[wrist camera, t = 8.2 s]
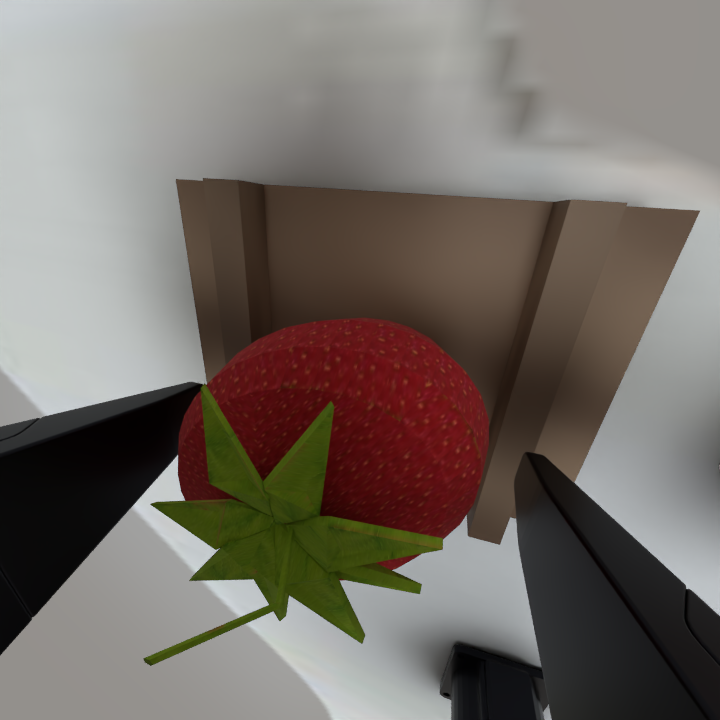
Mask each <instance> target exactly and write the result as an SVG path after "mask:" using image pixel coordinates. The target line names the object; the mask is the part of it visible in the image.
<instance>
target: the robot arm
mask: <svg viewBox="0 0 720 720" xmlns="http://www.w3.org/2000/svg"><path fill="white" fill-rule="evenodd" d="M202 386H203V384H200V383H195V382H187V383H183V384H179V385H175V386H171V387H166V388H162V389H158V390H154V391H150V392H145V393H141V394H137V395H133V396H129V397H124V398H120V399H116V400H112V401H108V402H103V403H99V404H95V405H91V406H87V407H82V408H78V409H74V410H70V411H66V412H61V413H57V414H53V415H49V416H45V417H42V418H36V419H32V420H28V421H23V422H19V423H15V424H11V425H6V426H2V427H0V655H1V654H2V653H3V651H5V649H6V648H7V647H8V646H9V645H10V644H11V643H12V642H13V640H14V639H15V638H16V637H17V636H18V635H19V633H21V631H22V630H23V629H24V628H25V627H26V626H27V625H28V624H29V622H30V621H31V620H32V617H34V616H35V615H36V614H37V613H38V612H39V611H40V609H41V608H42V607H43V606H44V605H45V604H46V603H47V602H48V601H49V599H50V598H51V597H52V596H53V595H54V594H55V593H56V591H57V590H58V589H59V588H60V587H61V586H62V585H63V584H64V582H65V581H66V580H67V579H68V578H69V577H70V576H71V575H72V574H73V572H74V571H75V570H76V569H77V568H78V567H79V565H80V564H81V563H82V562H83V561H84V560H85V559H86V558H87V557H88V556H89V554H90V553H91V552H92V551H93V550H94V549H95V548H96V547H97V545H98V544H99V543H100V542H101V541H102V540H103V539H104V538H105V536H106V535H107V534H108V533H109V532H110V531H111V530H112V529H113V527H114V526H115V525H116V524H117V523H118V521H120V519H121V518H122V517H123V516H124V515H125V514H126V513H127V512H128V510H129V509H130V508H131V507H132V506H133V505H134V504H135V503H136V502H137V500H138V499H139V498H140V497H141V496H142V495H143V494H144V493H145V491H146V490H147V489H148V488H149V487H150V486H151V485H152V484H153V482H154V481H155V480H156V479H157V478H158V477H159V476H160V475H161V473H162V472H163V471H164V470H165V469H166V468H167V467H168V466H169V464H170V463H171V462H172V461H173V460H174V459H175V457H176V456H177V455H178V447H179V432H180V429H181V425H182V422H183V418H184V415H185V413H186V411H187V410H188V408H189V406H190V405H191V403H192V401H193V399H194V398H195V396H196V395H197V394H198V393H199V392H200V391H201V387H202ZM514 494H515V507H516V521H517V535H518V545H519V552H520V557H521V563H522V568H523V573H524V578H525V583H526V589H527V594H528V599H529V604H530V609H531V615H532V620H533V625H534V630H535V635H536V640H537V646H538V651H539V656H540V661H541V666H542V672H541V671H538V670H535V669H532V668H529V667H526V666H523V665H520V664H517V663H514V662H511V661H508V660H505V659H502V658H499V657H496V656H493V655H490V654H487V653H484V652H481V651H478V650H475V649H472V648H469V647H466V646H463V645H455V646H454V647H453V650H452V653H451V655H450V658H449V661H448V664H447V667H446V670H445V672H444V675H443V678H442V681H441V684H440V694H441V695H442V696H443V697H445V698H447V699H450V700H451V720H544V716H543V711H544V710H545V708H546V707H547V706H548V704H549V708H550V713H551V718H552V720H720V616H719V615H718V614H717V613H716V612H715V611H713V610H712V609H711V608H710V607H709V606H708V605H707V604H706V603H705V602H704V601H703V600H701V599H700V598H699V597H698V596H697V595H696V594H695V593H694V592H693V591H692V590H690V589H686V585H685V584H684V583H683V582H682V581H681V580H680V579H678V578H677V577H676V576H675V575H674V574H673V573H672V572H671V571H670V570H669V569H668V568H666V567H665V566H664V565H663V564H662V563H661V562H660V561H659V560H658V559H657V558H656V557H654V556H653V555H652V554H651V553H650V552H649V551H648V550H647V549H646V548H645V547H644V546H642V545H641V544H640V543H639V542H638V541H637V540H636V539H635V538H634V537H633V536H632V535H630V534H629V533H628V532H627V531H626V530H625V529H624V528H623V527H622V526H621V525H620V524H618V523H617V522H616V521H615V520H614V519H613V518H612V517H611V516H610V515H609V514H608V513H606V512H605V511H604V510H603V509H602V508H601V507H600V506H599V505H598V504H597V503H596V502H594V501H593V500H592V499H591V498H590V497H589V496H588V495H587V494H586V493H585V492H584V491H582V490H581V489H580V488H579V487H578V486H577V485H576V484H575V483H574V482H573V481H572V480H570V479H569V478H568V477H567V476H566V475H565V474H564V473H563V472H562V471H561V470H560V469H558V468H557V467H556V466H555V465H554V464H553V463H552V462H551V461H550V460H549V459H548V458H546V457H545V456H544V455H542V454H537V453H532V452H525V453H524V454H523V456H522V458H521V461H520V464H519V467H518V469H517V472H516V475H515V479H514Z"/></svg>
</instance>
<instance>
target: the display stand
mask: <svg viewBox="0 0 720 720" xmlns="http://www.w3.org/2000/svg"><path fill="white" fill-rule="evenodd" d="M176 183H177V190H178V197H179V203H180V210H181V216H182V223H183V229H184V236H185V242H186V249H187V255H188V262H189V268H190V275H191V281H192V288H193V294H194V301H195V307H196V314H197V321H198V327H199V334H200V340H201V347H202V353H203V360H204V366H205V373H206V379H207V384H208V383H209V382H210V381H211V380H212V379H213V378H214V376H215V375H216V374H217V373H218V372H219V371H220V370H221V369H222V368H223V367H224V366H225V365H226V364H227V363H228V362H229V361H230V360H231V359H232V358H233V357H234V356H235V355H236V354H237V353H239V352H240V351H242V350H243V349H245V348H246V347H248V346H249V345H250V344H252V343H253V342H255V341H256V340H258V339H260V338H262V337H264V336H267V335H269V334H271V333H274V332H276V331H278V330H281V329H283V328H286V327H290V326H295V325H300V324H305V323H310V322H315V321H325V320H337V319H351V318H372V319H380V320H389V321H392V322H395V323H398V324H401V325H404V326H408V327H411V328H413V329H414V330H416V331H418V332H420V333H422V334H423V335H425V336H427V337H429V338H431V339H432V340H433V341H434V342H435V343H436V344H437V345H438V346H440V347H441V348H442V349H443V350H444V351H445V352H446V353H447V354H448V355H449V356H450V357H451V358H452V359H453V360H455V361H456V362H457V363H458V364H459V365H460V366H461V367H462V368H463V369H464V370H465V371H466V373H467V374H468V376H469V377H470V379H471V380H472V382H473V383H474V385H475V386H476V388H477V389H478V391H479V392H480V394H481V396H482V399H483V402H484V406H485V409H486V412H487V415H488V419H489V446H488V451H487V455H486V460H485V464H484V469H483V474H482V478H481V482H480V486H479V489H478V492H477V495H476V498H475V501H474V504H473V506H472V507H471V509H470V510H469V512H468V513H467V527H468V536H469V537H473V538H476V539H480V540H484V541H488V542H491V543H495V544H499V545H500V543H501V540H502V537H503V535H504V532H505V529H506V527H507V524H508V521H509V519H510V517H512V518H516V507H515V494H514V479H515V475H516V472H517V469H518V467H519V464H520V461H521V458H522V456H523V454H524V453H525V452H532V453H537V454H542V455H544V456H545V457H546V458H548V459H549V460H550V461H551V462H552V463H553V464H554V465H555V466H556V467H557V468H558V469H560V470H561V471H562V472H563V473H564V474H565V475H566V476H567V477H568V478H569V479H570V480H572V481H573V482H575V480H576V478H577V475H578V473H579V471H580V469H581V467H582V465H583V462H584V460H585V458H586V456H587V454H588V452H589V450H590V447H591V445H592V443H593V441H594V439H595V437H596V434H597V432H598V430H599V428H600V426H601V424H602V421H603V419H604V417H605V415H606V413H607V411H608V409H609V406H610V404H611V402H612V400H613V398H614V396H615V393H616V391H617V389H618V387H619V385H620V383H621V380H622V378H623V376H624V374H625V372H626V370H627V367H628V365H629V363H630V361H631V359H632V357H633V355H634V352H635V350H636V348H637V346H638V344H639V342H640V339H641V337H642V335H643V333H644V331H645V329H646V326H647V324H648V322H649V320H650V318H651V316H652V313H653V311H654V309H655V307H656V305H657V303H658V301H659V298H660V296H661V294H662V292H663V290H664V288H665V285H666V283H667V281H668V279H669V277H670V275H671V272H672V270H673V268H674V266H675V264H676V262H677V260H678V257H679V255H680V253H681V251H682V249H683V247H684V244H685V242H686V240H687V238H688V236H689V234H690V231H691V229H692V227H693V225H694V223H695V221H696V218H697V216H698V214H699V212H700V211H695V210H678V209H661V208H645V207H628V206H626V205H627V203H620V202H603V201H586V200H565V201H557V202H545V201H528V200H512V199H495V198H479V197H462V196H445V195H429V194H412V193H395V192H379V191H362V190H345V189H329V188H312V187H296V186H279V185H263V184H257V183H251V182H245V181H239V180H225V179H208V178H203V181H196V180H179V179H176Z"/></svg>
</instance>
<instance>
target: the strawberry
mask: <svg viewBox="0 0 720 720" xmlns="http://www.w3.org/2000/svg"><path fill="white" fill-rule="evenodd" d="M488 446H489V419H488V415H487V412H486V409H485V406H484V402H483V399H482V396H481V394H480V392H479V391H478V389H477V388H476V386H475V385H474V383H473V382H472V380H471V379H470V377H469V376H468V374H467V373H466V371H465V370H464V369H463V368H462V367H461V366H460V365H459V364H458V363H457V362H456V361H455V360H453V359H452V358H451V357H450V356H449V355H448V354H447V353H446V352H445V351H444V350H443V349H442V348H441V347H440V346H438V345H437V344H436V343H435V342H434V341H433V340H432V339H431V338H429V337H427V336H425V335H423V334H422V333H420V332H418V331H416V330H414V329H413V328H411V327H408V326H404V325H401V324H398V323H395V322H392V321H389V320H380V319H372V318H351V319H337V320H325V321H315V322H310V323H305V324H300V325H295V326H290V327H286V328H283V329H281V330H278V331H276V332H274V333H271V334H269V335H267V336H264V337H262V338H260V339H258V340H256V341H255V342H253V343H252V344H250V345H249V346H248V347H246V348H245V349H243V350H242V351H240V352H239V353H237V354H236V355H235V356H234V357H233V358H232V359H231V360H230V361H229V362H228V363H227V364H226V365H225V366H224V367H223V368H222V369H221V370H220V371H219V372H218V373H217V374H216V375H215V376H214V378H213V379H212V380H211V381H210V382H209V383H208V384H207V385H206V384H204V385H203V386H202V387H201V391H200V392H199V393H198V394H197V395H196V396H195V398H194V399H193V401H192V403H191V405H190V406H189V408H188V410H187V411H186V413H185V415H184V418H183V422H182V425H181V429H180V432H179V447H178V477H179V482H180V487H181V492H182V494H183V496H184V498H185V501H169V502H155V503H152V504H150V505H152V506H153V507H155V508H156V509H158V510H159V511H161V512H162V513H163V514H165V515H166V516H168V517H169V518H171V519H172V520H174V521H175V522H176V523H178V524H179V525H181V526H182V527H184V528H185V529H187V530H188V531H189V532H191V533H192V534H194V535H195V536H197V537H198V538H199V539H201V540H202V541H204V542H205V543H207V544H208V545H210V546H211V547H212V548H214V549H215V550H217V549H219V548H220V549H219V550H218V551H217V552H216V553H215V554H214V555H213V556H212V557H211V558H210V559H209V560H208V561H207V562H206V563H205V564H204V565H203V566H202V567H201V568H200V569H199V570H198V571H197V572H196V573H195V574H194V575H193V577H192V578H191V579H190V581H197V580H198V581H200V580H245V579H254V581H255V582H256V584H257V585H258V587H259V589H260V590H261V592H262V594H263V595H264V597H265V598H266V600H267V602H268V603H269V605H268V606H266V607H263V608H261V609H259V610H256V611H254V612H252V613H249V614H247V615H245V616H242V617H240V618H238V619H235V620H233V621H231V622H228V623H226V624H224V625H221V626H219V627H216V628H214V629H212V630H209V631H207V632H205V633H202V634H200V635H198V636H195V637H193V638H191V639H188V640H186V641H184V642H181V643H179V644H176V645H174V646H172V647H169V648H167V649H165V650H162V651H160V652H158V653H155V654H153V655H151V656H148V657H146V658H144V661H145V662H146V663H147V664H149V665H150V666H151V665H153V664H156V663H158V662H160V661H162V660H164V659H167V658H169V657H171V656H174V655H176V654H178V653H180V652H183V651H185V650H187V649H189V648H192V647H194V646H196V645H198V644H201V643H203V642H205V641H207V640H210V639H212V638H214V637H216V636H219V635H221V634H223V633H225V632H228V631H230V630H232V629H234V628H237V627H239V626H241V625H243V624H246V623H248V622H250V621H252V620H255V619H257V618H259V617H261V616H264V615H266V614H268V613H270V612H273V611H274V613H275V615H276V616H277V618H278V620H279V621H281V620H282V619H283V618H284V617H285V616H286V612H287V605H288V598H289V595H290V596H291V597H293V598H294V599H296V600H297V601H299V602H300V603H302V604H303V605H305V606H306V607H308V608H309V609H311V610H312V611H314V612H315V613H317V614H318V615H320V616H321V617H323V618H324V619H326V620H327V621H329V622H330V623H332V624H333V625H335V626H336V627H338V628H339V629H341V630H342V631H344V632H345V633H347V634H348V635H350V636H351V637H353V638H354V639H355V640H357V641H358V642H360V643H361V644H362V643H363V640H364V637H365V633H364V631H363V629H362V627H361V625H360V623H359V621H358V619H357V617H356V615H355V612H354V610H353V608H352V606H351V604H350V602H349V600H348V598H347V596H346V594H345V592H344V590H343V587H342V585H341V583H340V581H339V580H348V581H353V582H358V583H364V584H369V585H374V586H379V587H385V588H390V589H395V590H401V591H406V592H411V593H417V594H420V591H421V586H422V584H420V583H418V582H416V581H413V580H411V579H409V578H407V577H405V576H403V575H401V574H398V573H396V572H394V571H392V570H394V569H397V568H398V567H400V566H402V565H404V564H405V563H407V562H409V561H411V560H412V559H414V558H416V557H417V556H419V555H420V554H422V553H427V552H432V551H437V550H443V539H444V538H445V537H446V536H447V535H448V534H450V533H451V532H452V531H453V530H454V529H455V528H456V527H458V526H459V525H460V524H461V522H462V521H463V519H464V518H465V516H466V515H467V513H468V512H469V510H470V509H471V507H472V506H473V504H474V501H475V498H476V495H477V492H478V489H479V486H480V482H481V478H482V474H483V469H484V464H485V460H486V455H487V451H488Z"/></svg>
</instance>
